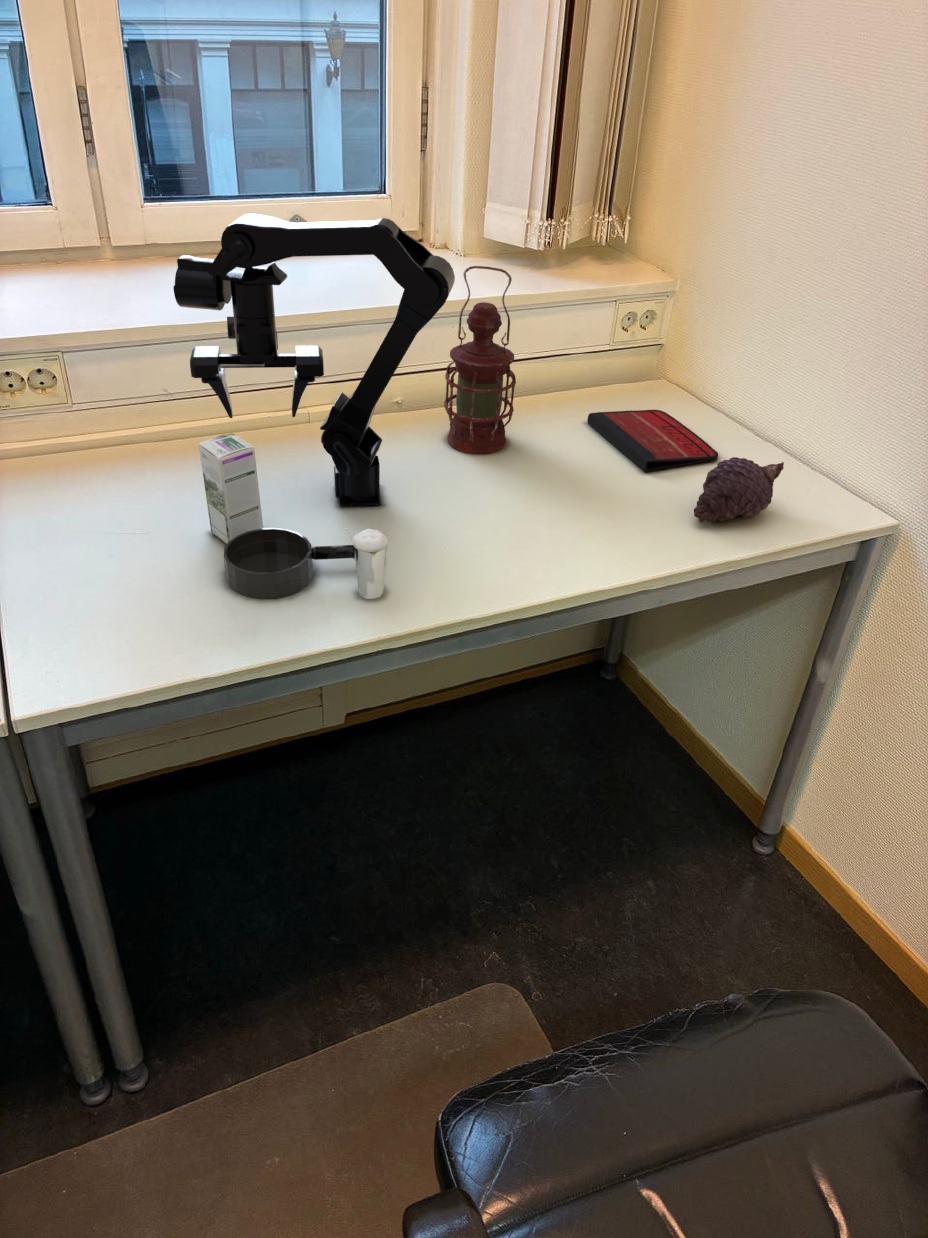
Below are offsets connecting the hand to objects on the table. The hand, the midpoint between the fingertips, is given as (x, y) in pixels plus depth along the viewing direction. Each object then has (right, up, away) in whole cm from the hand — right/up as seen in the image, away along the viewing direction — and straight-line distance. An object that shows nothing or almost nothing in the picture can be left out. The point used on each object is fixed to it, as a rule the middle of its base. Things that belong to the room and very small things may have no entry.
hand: (262, 416), depth 139 cm
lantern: (+33, +1, +25) cm, 41 cm away
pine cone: (+73, -14, +8) cm, 74 cm away
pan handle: (+14, -22, -13) cm, 29 cm away
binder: (+65, +1, +28) cm, 70 cm away
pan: (+4, -24, -13) cm, 28 cm away
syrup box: (-3, -18, -5) cm, 19 cm away
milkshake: (+17, -27, -15) cm, 36 cm away
